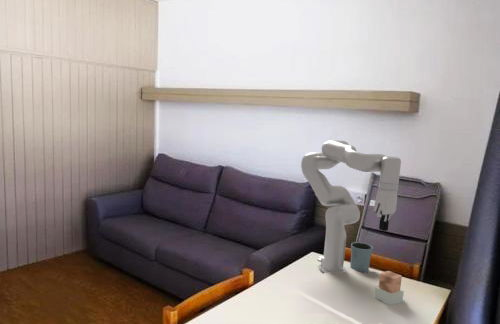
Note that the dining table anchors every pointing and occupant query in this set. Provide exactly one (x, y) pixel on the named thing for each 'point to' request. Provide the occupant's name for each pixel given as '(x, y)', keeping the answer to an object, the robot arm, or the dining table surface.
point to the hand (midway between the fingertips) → (383, 229)
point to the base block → (388, 295)
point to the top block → (390, 281)
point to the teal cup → (360, 256)
